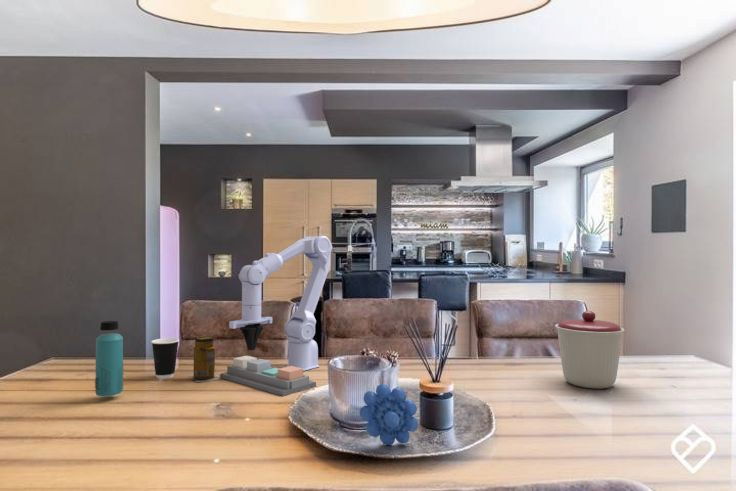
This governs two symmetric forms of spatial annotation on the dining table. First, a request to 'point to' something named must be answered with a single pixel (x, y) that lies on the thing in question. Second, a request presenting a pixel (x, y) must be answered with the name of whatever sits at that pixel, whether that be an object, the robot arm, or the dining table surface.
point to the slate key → (258, 365)
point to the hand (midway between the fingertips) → (251, 349)
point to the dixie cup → (165, 356)
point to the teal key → (271, 372)
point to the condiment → (204, 360)
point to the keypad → (267, 381)
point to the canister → (589, 351)
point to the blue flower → (389, 414)
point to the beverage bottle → (109, 361)
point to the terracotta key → (290, 373)
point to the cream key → (242, 361)
